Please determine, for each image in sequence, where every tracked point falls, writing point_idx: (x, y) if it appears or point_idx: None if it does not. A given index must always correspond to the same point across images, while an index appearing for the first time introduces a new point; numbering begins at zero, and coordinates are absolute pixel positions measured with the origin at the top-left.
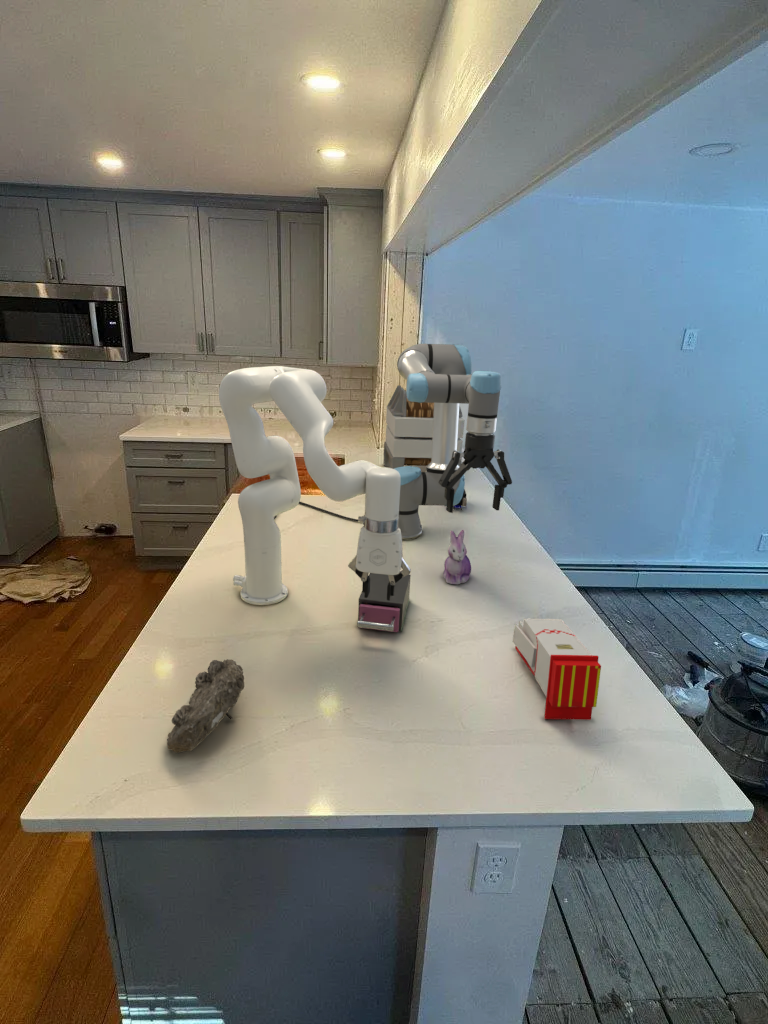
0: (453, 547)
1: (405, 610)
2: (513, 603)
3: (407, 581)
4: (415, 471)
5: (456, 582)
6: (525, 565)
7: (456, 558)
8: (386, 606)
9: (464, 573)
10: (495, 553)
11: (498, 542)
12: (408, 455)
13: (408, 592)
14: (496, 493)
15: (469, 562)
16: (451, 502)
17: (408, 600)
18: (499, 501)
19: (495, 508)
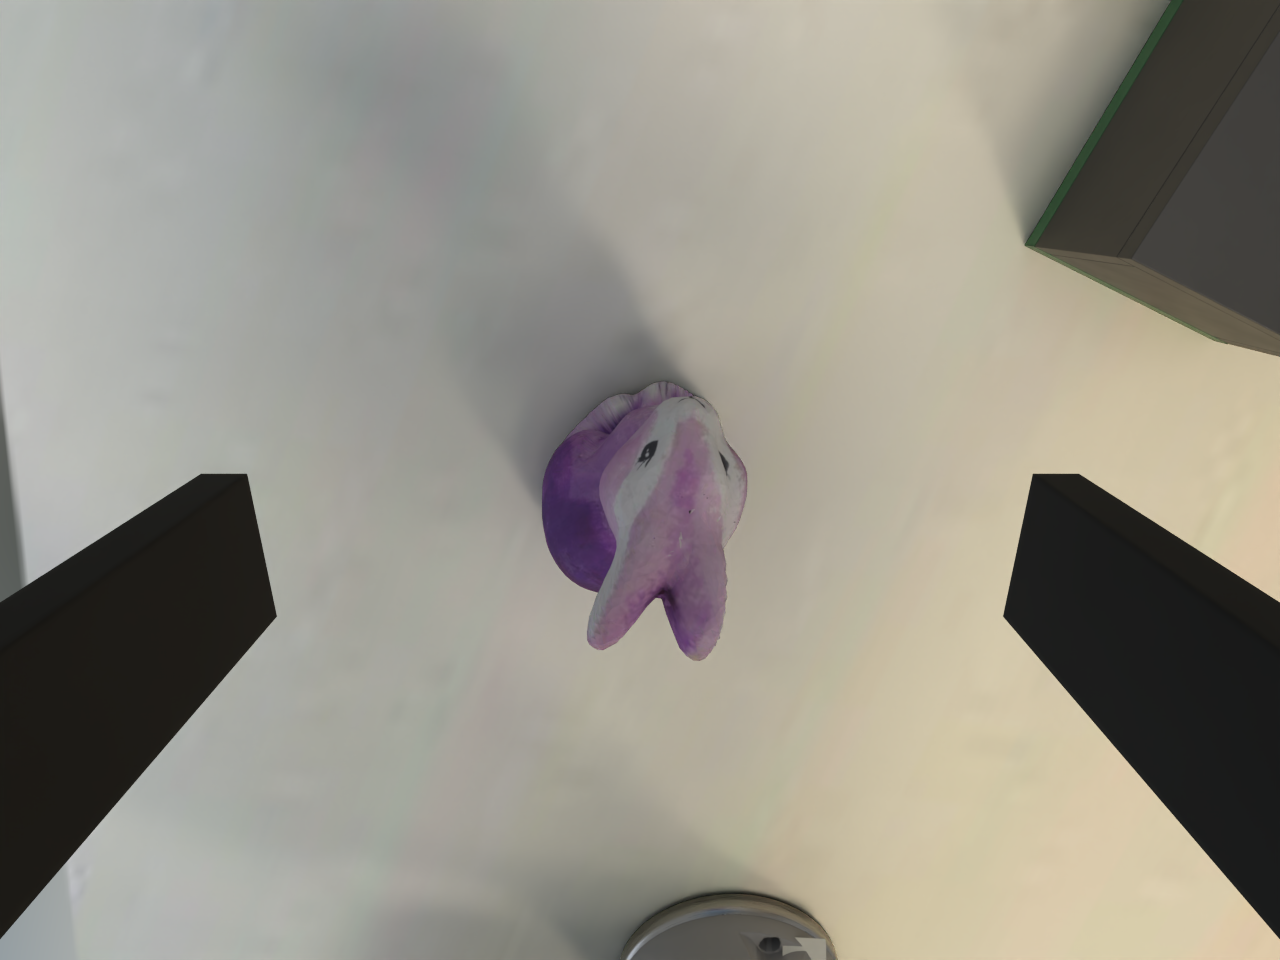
0: (726, 484)
1: (1169, 42)
2: (399, 83)
3: (1214, 147)
4: None
5: (667, 388)
6: None
7: (712, 406)
8: None
9: (605, 432)
10: (298, 704)
11: (239, 815)
12: None
13: (1122, 173)
14: (70, 719)
15: (557, 486)
16: (1190, 555)
17: (1055, 211)
18: (108, 543)
19: (247, 527)
